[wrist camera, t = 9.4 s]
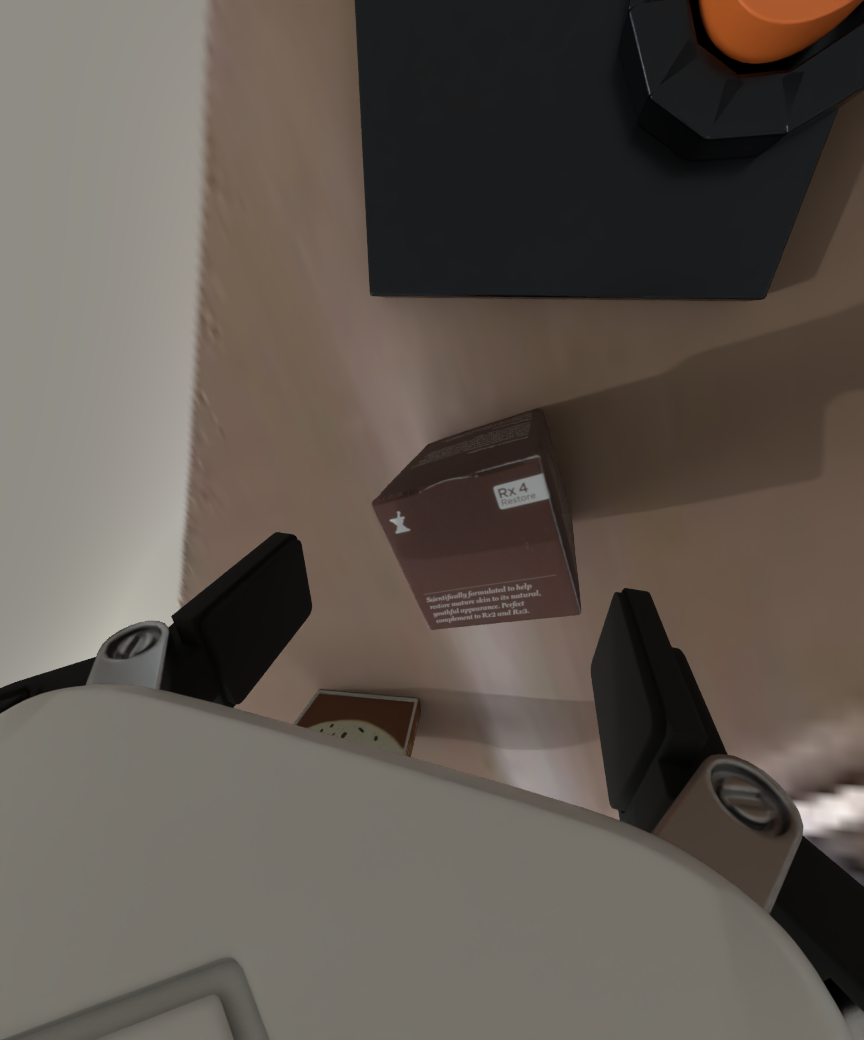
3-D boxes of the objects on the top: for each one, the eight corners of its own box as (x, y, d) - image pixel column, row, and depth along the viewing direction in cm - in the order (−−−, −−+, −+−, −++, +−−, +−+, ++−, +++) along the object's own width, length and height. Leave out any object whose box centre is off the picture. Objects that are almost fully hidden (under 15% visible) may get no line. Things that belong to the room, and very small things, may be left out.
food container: (328, 734, 35) (257, 865, 27) (304, 688, 33) (218, 817, 24) (452, 751, 31) (416, 913, 23) (436, 700, 29) (388, 861, 20)
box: (462, 541, 21) (426, 633, 15) (424, 442, 19) (364, 501, 13) (573, 520, 19) (585, 619, 13) (545, 404, 17) (542, 454, 11)
